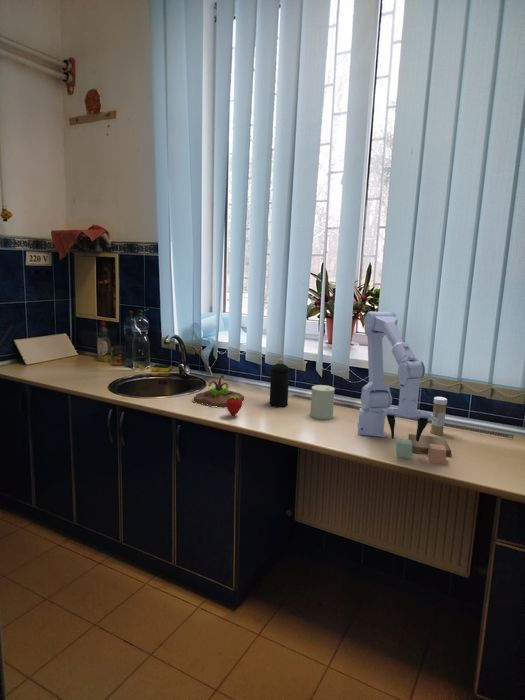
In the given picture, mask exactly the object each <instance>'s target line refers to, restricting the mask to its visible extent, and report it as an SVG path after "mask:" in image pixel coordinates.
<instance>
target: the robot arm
mask: <svg viewBox="0 0 525 700" xmlns="http://www.w3.org/2000/svg"><path fill="white" fill-rule="evenodd" d="M363 319H364V320H363V322H364V323H363V324H364V325H363V326H364V335H366V336H367V359H368V363H367V364H368V383H367V384H365V385H364V386H362V388H361V395H360V403H361V406H362V407H359V414H358V422H357V425H356V427H357V429H358V430H357V434H358V436H359V435H360V436H369V437H370V436H371V437H378V438H379V437H380V438H386V431H385V430H386V429H385V423H386V420H387V422H388V424H389V425H388V426H389V428H390V434H391V435H390V436H391V440H392V439H393V440H394V439H395V426H396V417H398V418H409V419H417V424H416V425H417V426H416V427H417V429H416V433H415V435H416V441H419V438H420V436H421V435H422V433H423V432H424V430H425V428H426V427H427V425H428V423H429V421H432V416H433V413H432V412H429V411H428V412H426V411H420V410H418V404H419V395H420V384H421V383H420V382H421V379H423V378H424V376H425V375H426V374H425V373H426V367H425V363H424V362H423V361H422V360H419V358H418V357H417V358H416V356H415V354H414V353H413V350H412V349H411V347H410V345H409V344H408V343H407V342H404V341H403V338H402V337H401V334H400V331H399V329H398V317H397V314H396V313H395V312H394V311H372V310H371V311H368V312H366V314H365V317H364V318H363ZM385 336H386V338H387V340H388V341H389V343H390V345H391V346H392V347H391V348H392V349H391V353H392V355H393V357H394V359H395V361H396V364H397V365H398V368H397V373H398V377H399V379H398V383H399V384H400V386H399V388H400V389H399V399H398V407H397V408H390V407H391V406H392V404H393V397H392V394H391V388H390V386H388V385H387V384H386V383H385V382H384V360H383V359H384V358H383V353H384V352H383V338H384V337H385Z"/></svg>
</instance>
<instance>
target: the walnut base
mask: <svg viewBox="0 0 525 700" xmlns="http://www.w3.org/2000/svg"><path fill="white" fill-rule="evenodd" d="M407 440H411V442H412V453H415V454H416V453H417V454H425V455H428V451H429V444H437V445H444V446H445V448H446V457H451V455H452V449H451V447H450V445H449V443H448V442H447V439H446V438H445V437H441V436H433V435H432V436H431V435H424V434H423V435H422V434H421V436H420V438H419V441H416V434H413V433H409V434H408V439H407Z"/></svg>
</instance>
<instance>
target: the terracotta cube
mask: <svg viewBox="0 0 525 700" xmlns="http://www.w3.org/2000/svg"><path fill="white" fill-rule="evenodd" d="M446 457H447V456H446V448H445V446H444V445H437V444H429V451H428V454H427V458H428V460H429V463H432V464H433V463H434V464H441V463H442V464H444V465H445V464H446Z"/></svg>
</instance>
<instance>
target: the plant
mask: <svg viewBox="0 0 525 700" xmlns="http://www.w3.org/2000/svg"><path fill="white" fill-rule="evenodd" d="M222 379H223V380H224V379H226V376H225V375H224V374H221V375H220V377H219V379H218V381H215V380H213V381H211V382H209V383H208V385H207V386H208V387H207V388H208V390H206V391H204V392H199V393H196V394H195V395H194V396H193V402H194V401H195V402H197V403H196V404H198V403H203V404H202V405H204V404H208V405H211V406H217V407H227V406H226V402H227V400H228V399H229V397H230V396H233V395H234V396H235V395H237V396H240V397H239V398H241V399H242V401H243V400H244V401H245V396H244V395H243V394H241V393H239V392H237V391H233V390H230V385H229V384H228V383H226V382H223V383H222V382H221V381H222ZM212 383H213V384H214V386H213V385H212ZM224 385H225V387H224ZM244 401H243V402H244ZM195 402H194V403H195ZM208 405H207V406H208ZM211 406H210V407H211ZM217 407H216V408H217Z"/></svg>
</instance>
